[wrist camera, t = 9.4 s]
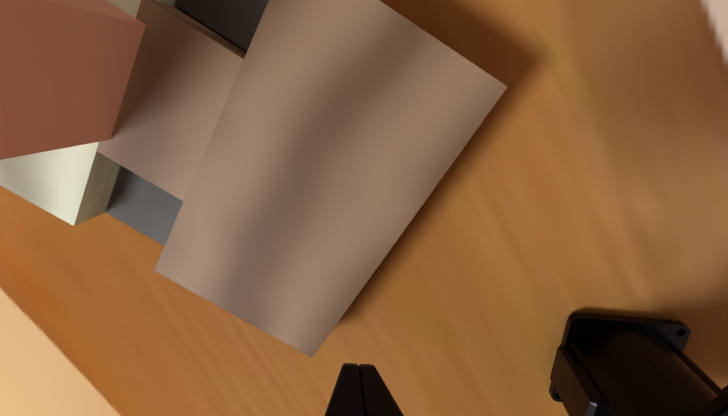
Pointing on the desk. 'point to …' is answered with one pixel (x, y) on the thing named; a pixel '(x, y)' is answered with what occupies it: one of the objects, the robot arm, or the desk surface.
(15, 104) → the brick block
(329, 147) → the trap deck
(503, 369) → the desk surface
